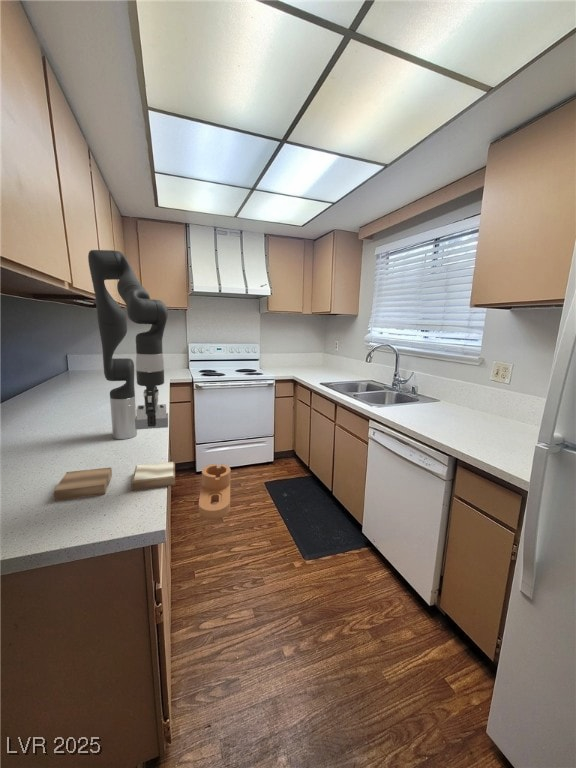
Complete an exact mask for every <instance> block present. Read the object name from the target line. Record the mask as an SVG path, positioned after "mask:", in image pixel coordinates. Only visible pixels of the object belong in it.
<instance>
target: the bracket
mask: <svg viewBox="0 0 576 768" xmlns="http://www.w3.org/2000/svg"><path fill="white" fill-rule="evenodd" d="M231 471H232V470H231V467H230V466H229V465H227V464H224V463H223V464H222V463H221V464H220V465H219V466H218V464H217V463H214V464H208V465H206V466H204V467H203V468H202V470H201V486H200V487H201V489H200V492H199V493H200V494H199V500H198V514H199V516H200V517H201V518H203V519H205V520H213V521H214V520H218V519H222V518H224V517H226V516H227V515H228V514H230V511H231V473H232V472H231ZM215 502H216V503H215ZM213 503H215V504H213Z"/></svg>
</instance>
